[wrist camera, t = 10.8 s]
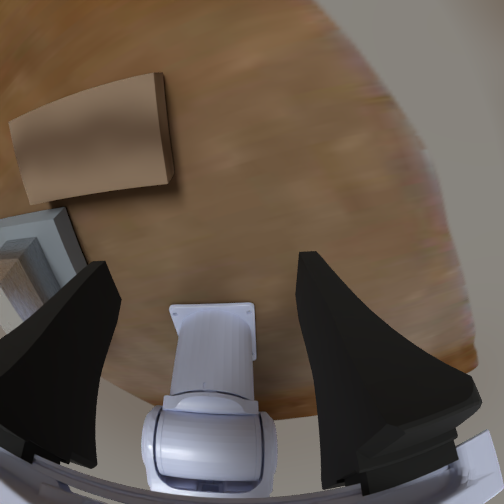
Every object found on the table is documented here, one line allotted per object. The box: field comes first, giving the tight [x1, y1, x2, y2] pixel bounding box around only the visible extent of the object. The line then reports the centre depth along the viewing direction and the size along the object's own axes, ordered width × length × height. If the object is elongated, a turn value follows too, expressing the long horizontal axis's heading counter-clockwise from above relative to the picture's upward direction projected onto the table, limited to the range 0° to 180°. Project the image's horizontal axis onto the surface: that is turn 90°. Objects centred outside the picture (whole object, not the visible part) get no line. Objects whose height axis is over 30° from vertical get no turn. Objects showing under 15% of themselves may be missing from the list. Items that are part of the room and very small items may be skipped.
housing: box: [0, 237, 61, 334], centre depth 18 cm, size 4×9×6 cm, turn 2°
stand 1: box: [0, 207, 87, 288], centre depth 22 cm, size 12×10×2 cm
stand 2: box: [9, 72, 175, 205], centre depth 15 cm, size 7×12×2 cm, turn 92°
